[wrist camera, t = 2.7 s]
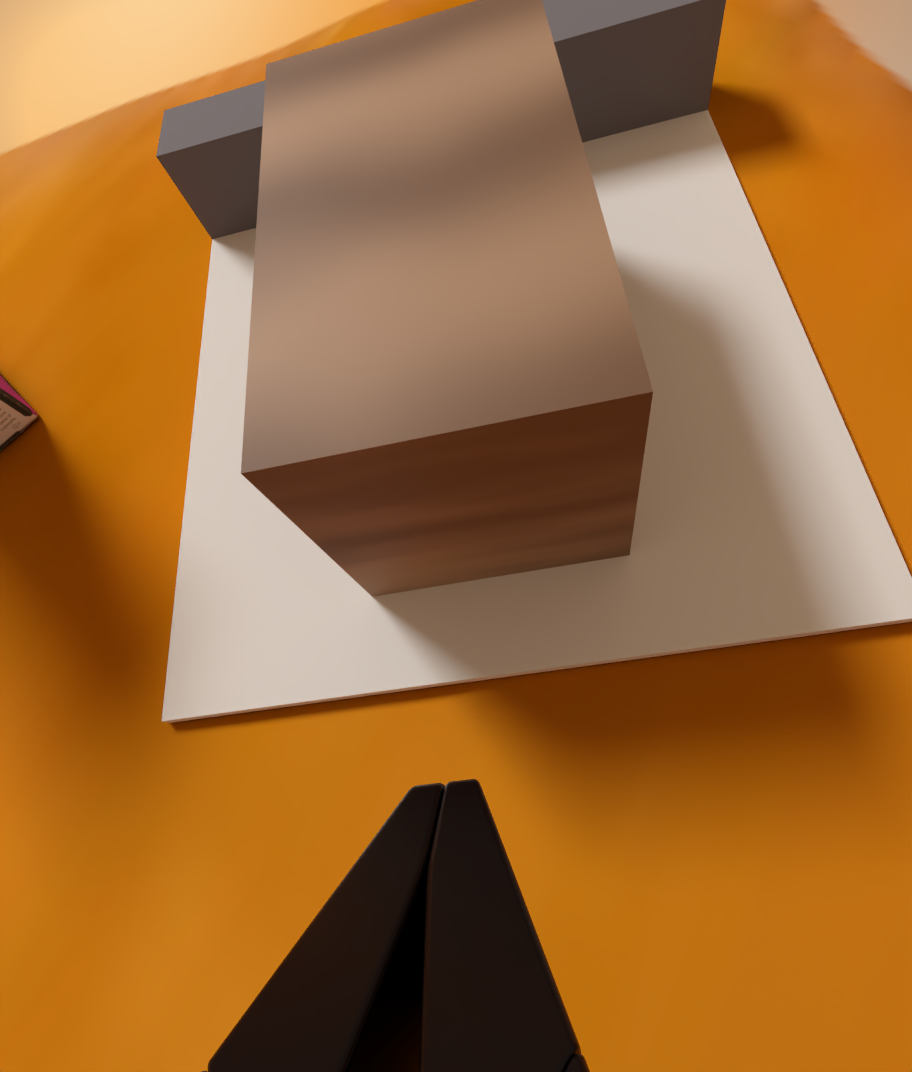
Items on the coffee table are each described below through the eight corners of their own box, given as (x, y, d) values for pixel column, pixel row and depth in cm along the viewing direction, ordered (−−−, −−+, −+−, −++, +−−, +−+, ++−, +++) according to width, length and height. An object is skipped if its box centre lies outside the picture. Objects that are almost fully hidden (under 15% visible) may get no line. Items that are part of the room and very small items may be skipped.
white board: (920, 620, 16) (1026, 560, 12) (169, 722, 19) (61, 701, 15) (684, 70, 27) (700, -58, 23) (222, 195, 30) (165, 103, 26)
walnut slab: (629, 555, 18) (653, 391, 11) (372, 596, 19) (240, 473, 12) (553, 228, 24) (537, -18, 17) (359, 275, 25) (266, 64, 18)
